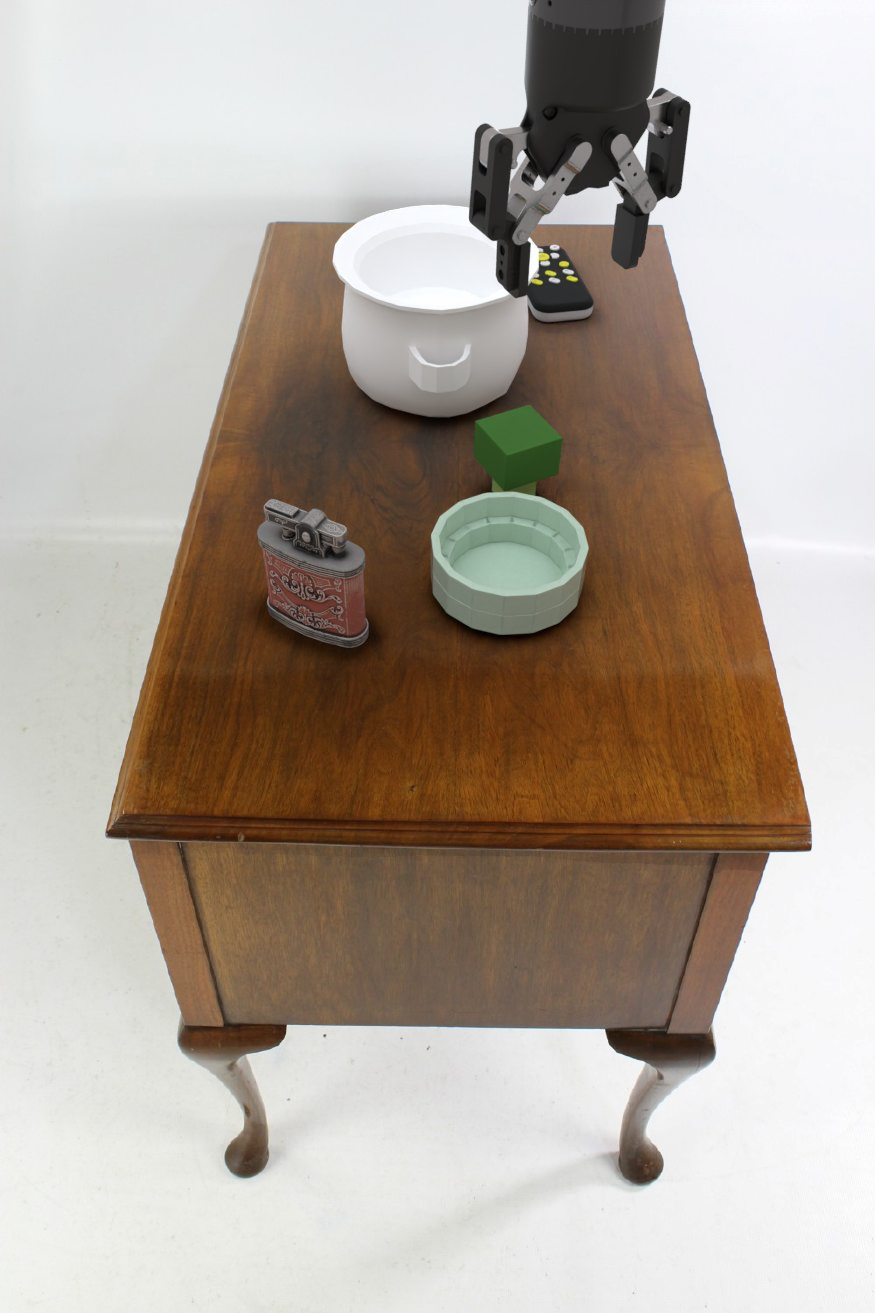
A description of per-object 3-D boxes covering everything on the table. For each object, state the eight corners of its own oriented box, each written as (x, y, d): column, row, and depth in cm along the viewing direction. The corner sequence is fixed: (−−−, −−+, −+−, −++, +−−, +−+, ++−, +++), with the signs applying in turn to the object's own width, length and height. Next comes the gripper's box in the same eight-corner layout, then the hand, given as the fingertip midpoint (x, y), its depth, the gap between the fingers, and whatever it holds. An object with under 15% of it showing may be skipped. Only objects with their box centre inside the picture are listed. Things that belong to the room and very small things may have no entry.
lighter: (377, 625, 77) (373, 518, 70) (353, 655, 75) (346, 549, 68) (284, 587, 80) (271, 481, 72) (258, 616, 78) (242, 509, 70)
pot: (347, 315, 106) (340, 192, 97) (520, 317, 106) (530, 195, 97) (334, 449, 91) (325, 320, 82) (536, 451, 91) (549, 322, 82)
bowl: (531, 520, 85) (536, 475, 82) (609, 609, 79) (618, 564, 75) (405, 563, 82) (405, 518, 78) (476, 660, 75) (479, 615, 72)
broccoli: (523, 469, 90) (529, 403, 85) (555, 503, 87) (563, 437, 82) (471, 486, 88) (474, 420, 83) (501, 521, 85) (506, 455, 80)
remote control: (535, 325, 105) (537, 307, 104) (505, 263, 114) (506, 245, 112) (596, 320, 106) (598, 301, 105) (561, 258, 114) (563, 240, 113)
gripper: (519, 40, 54) (504, 329, 66) (742, 0, 59) (691, 278, 71) (450, 0, 59) (448, 277, 71) (662, -34, 63) (627, 232, 75)
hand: (570, 277), depth 71 cm, fingers open, 8 cm apart
